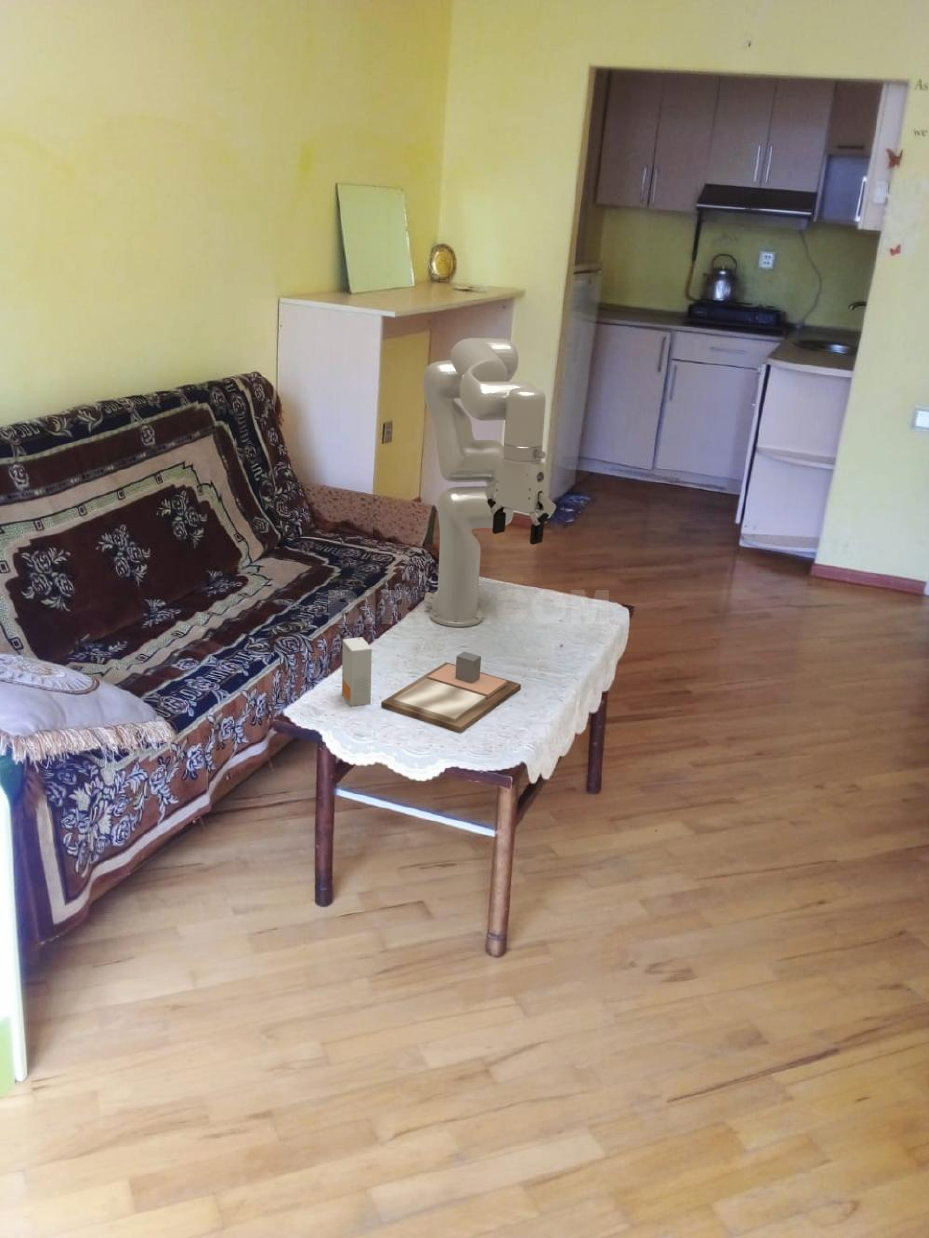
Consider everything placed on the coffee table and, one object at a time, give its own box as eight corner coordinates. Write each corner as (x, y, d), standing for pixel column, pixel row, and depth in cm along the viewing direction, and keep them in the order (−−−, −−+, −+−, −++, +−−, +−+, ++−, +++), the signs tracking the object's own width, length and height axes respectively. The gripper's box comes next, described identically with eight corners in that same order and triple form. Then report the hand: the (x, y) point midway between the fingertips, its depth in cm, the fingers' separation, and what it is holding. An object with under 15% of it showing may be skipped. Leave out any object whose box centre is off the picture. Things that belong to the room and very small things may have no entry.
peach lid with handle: (427, 680, 224) (428, 653, 222) (448, 667, 231) (449, 641, 229) (487, 698, 218) (489, 671, 216) (506, 684, 224) (508, 658, 222)
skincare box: (341, 694, 219) (341, 638, 215) (361, 691, 221) (362, 636, 216) (350, 707, 214) (351, 650, 210) (371, 704, 216) (372, 648, 211)
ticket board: (381, 707, 215) (381, 698, 214) (445, 667, 234) (446, 658, 233) (460, 733, 206) (461, 723, 206) (520, 689, 226) (521, 680, 225)
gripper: (569, 458, 212) (562, 544, 218) (501, 443, 223) (496, 525, 228) (545, 463, 207) (539, 551, 212) (476, 447, 217) (472, 531, 223)
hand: (517, 537), depth 220 cm, fingers open, 9 cm apart
